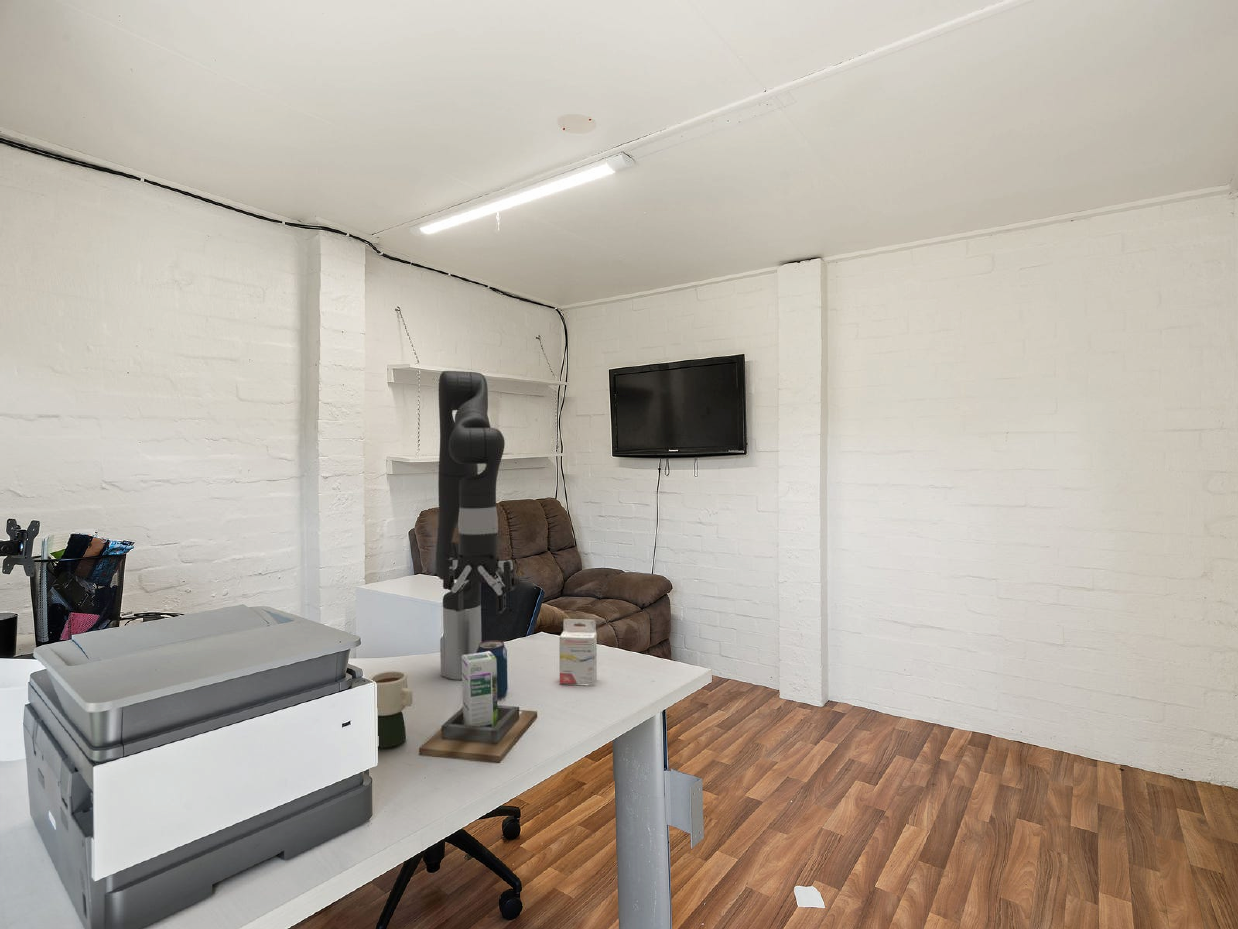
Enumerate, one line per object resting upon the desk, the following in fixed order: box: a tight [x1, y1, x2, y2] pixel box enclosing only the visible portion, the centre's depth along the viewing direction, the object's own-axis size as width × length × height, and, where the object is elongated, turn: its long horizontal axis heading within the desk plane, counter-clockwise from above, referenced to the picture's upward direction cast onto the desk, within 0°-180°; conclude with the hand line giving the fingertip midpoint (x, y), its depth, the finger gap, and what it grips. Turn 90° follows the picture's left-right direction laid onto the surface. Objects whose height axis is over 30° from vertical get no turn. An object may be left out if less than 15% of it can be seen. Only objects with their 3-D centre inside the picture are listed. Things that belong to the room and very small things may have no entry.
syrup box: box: [461, 651, 498, 728], centre depth 129 cm, size 6×6×14 cm
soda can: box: [476, 639, 509, 700], centre depth 149 cm, size 7×7×12 cm
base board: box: [418, 704, 538, 763], centre depth 129 cm, size 16×20×4 cm
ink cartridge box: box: [559, 618, 598, 686], centre depth 157 cm, size 9×5×15 cm, turn 84°
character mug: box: [368, 670, 413, 748], centre depth 126 cm, size 11×7×13 cm, turn 70°
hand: (479, 612), depth 128 cm, fingers open, 8 cm apart
